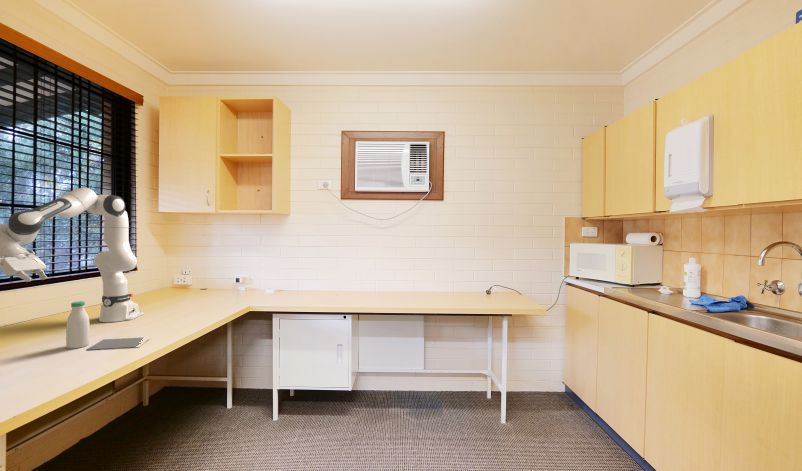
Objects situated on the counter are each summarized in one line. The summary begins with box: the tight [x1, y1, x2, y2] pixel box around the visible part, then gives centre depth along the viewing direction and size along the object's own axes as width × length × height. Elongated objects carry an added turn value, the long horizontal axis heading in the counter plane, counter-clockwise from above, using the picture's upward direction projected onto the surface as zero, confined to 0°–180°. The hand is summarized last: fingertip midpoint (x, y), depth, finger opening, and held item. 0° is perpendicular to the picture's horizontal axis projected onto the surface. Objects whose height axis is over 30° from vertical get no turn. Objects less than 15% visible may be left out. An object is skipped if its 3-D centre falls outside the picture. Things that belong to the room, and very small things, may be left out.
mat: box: [85, 336, 145, 351], centre depth 165 cm, size 20×14×1 cm
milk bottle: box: [65, 300, 90, 349], centre depth 160 cm, size 8×8×20 cm
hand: (37, 279), depth 155 cm, fingers open, 8 cm apart
